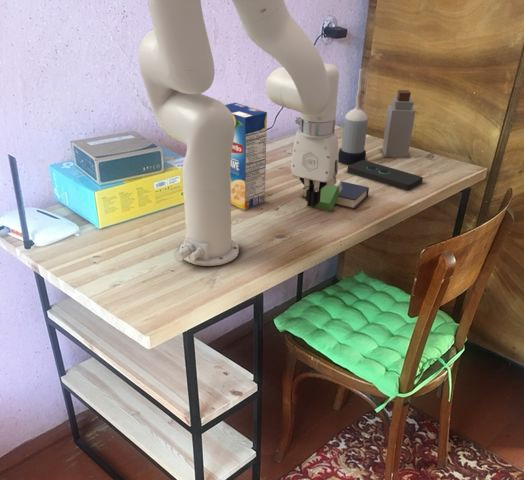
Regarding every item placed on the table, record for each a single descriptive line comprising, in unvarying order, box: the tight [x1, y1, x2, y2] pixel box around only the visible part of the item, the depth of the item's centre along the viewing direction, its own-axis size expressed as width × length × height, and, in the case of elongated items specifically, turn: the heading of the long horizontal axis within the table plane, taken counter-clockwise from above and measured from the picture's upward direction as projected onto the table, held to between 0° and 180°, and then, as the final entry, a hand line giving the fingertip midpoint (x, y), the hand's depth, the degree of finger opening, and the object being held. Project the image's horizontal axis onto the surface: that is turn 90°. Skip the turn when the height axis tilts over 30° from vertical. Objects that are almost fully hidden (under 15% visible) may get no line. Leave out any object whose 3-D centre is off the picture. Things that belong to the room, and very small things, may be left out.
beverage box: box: [224, 102, 268, 211], centre depth 142 cm, size 7×11×22 cm, turn 44°
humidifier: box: [338, 68, 369, 166], centre depth 167 cm, size 8×8×25 cm
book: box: [302, 180, 370, 210], centre depth 151 cm, size 9×14×3 cm, turn 61°
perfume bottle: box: [381, 89, 416, 159], centre depth 175 cm, size 7×7×18 cm
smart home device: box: [347, 159, 424, 191], centre depth 163 cm, size 8×2×20 cm
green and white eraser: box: [314, 178, 342, 212], centre depth 145 cm, size 7×5×3 cm
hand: (312, 204), depth 139 cm, fingers closed
